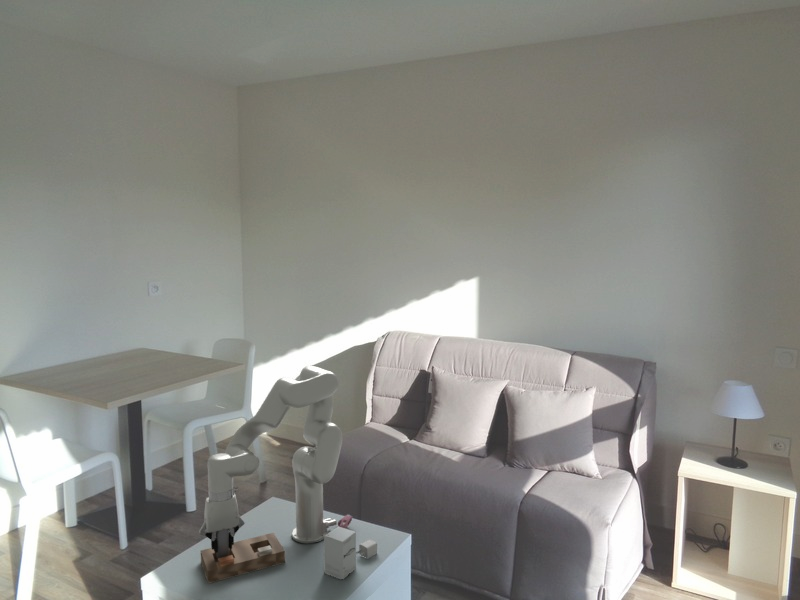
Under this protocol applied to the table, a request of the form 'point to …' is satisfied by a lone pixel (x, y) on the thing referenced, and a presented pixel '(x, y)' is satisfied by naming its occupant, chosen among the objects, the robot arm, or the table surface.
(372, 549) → the usb wall charger
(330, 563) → the supplement box
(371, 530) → the table surface
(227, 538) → the charcoal plug
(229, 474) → the robot arm
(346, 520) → the video game controller
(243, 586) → the table surface
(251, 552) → the socket block
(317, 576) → the table surface
